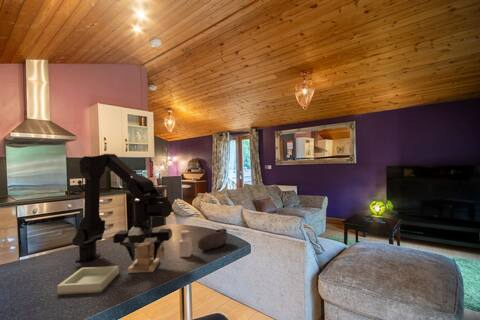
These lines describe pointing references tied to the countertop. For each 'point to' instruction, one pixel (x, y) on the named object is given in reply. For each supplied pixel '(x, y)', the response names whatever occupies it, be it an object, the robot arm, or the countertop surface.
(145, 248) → the wooden block
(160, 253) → the wooden fragment
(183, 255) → the pepper shaker
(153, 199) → the robot arm
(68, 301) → the countertop surface
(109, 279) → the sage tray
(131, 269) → the birch stand
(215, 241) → the perforated stone tool
